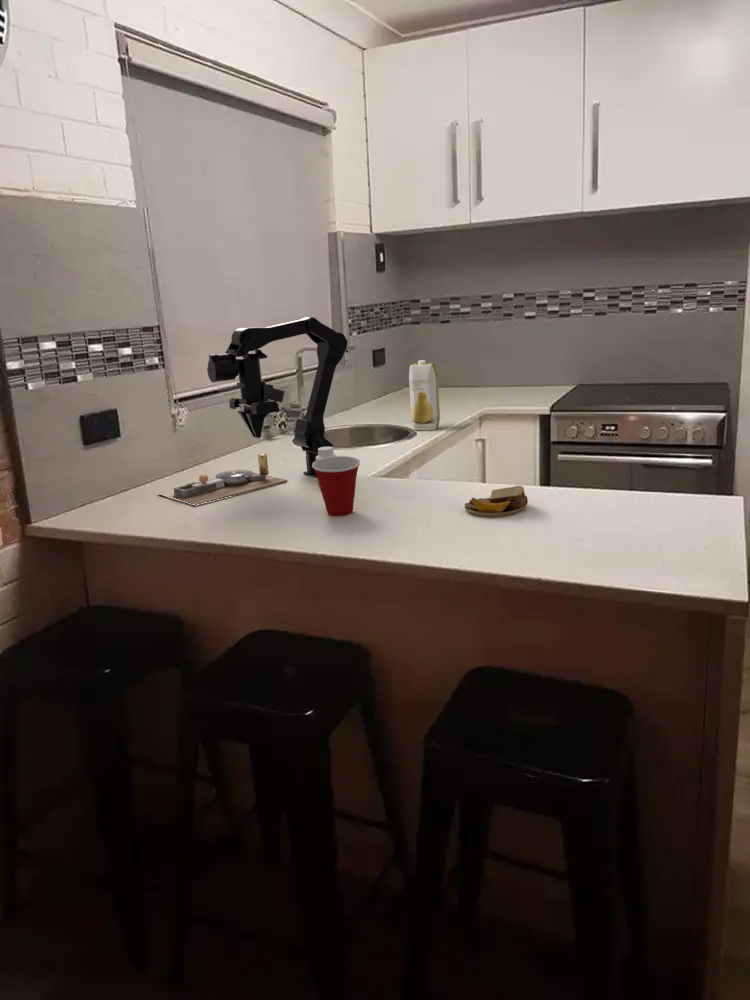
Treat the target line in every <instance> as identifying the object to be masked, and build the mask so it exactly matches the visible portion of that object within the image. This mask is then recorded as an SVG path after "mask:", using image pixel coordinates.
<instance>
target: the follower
mask: <svg viewBox="0 0 750 1000" xmlns="http://www.w3.org/2000/svg"><path fill="white" fill-rule="evenodd" d="M213 479H214V480H211V479H209V476H208V475H207V474H200V475H199V476H198V482H201V483H197V482H196V483H197V484H193V485H191V487H192V488H195V486H198V485H207V484H211V483H216V489H217V488H221V487H225V486H224V480H222V479H215V478H213ZM208 480H209V481H208Z"/></svg>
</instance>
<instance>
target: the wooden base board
mask: <svg viewBox="0 0 750 1000" xmlns="http://www.w3.org/2000/svg"><path fill="white" fill-rule="evenodd" d="M259 474H260V473H259V472H258V473H257V472H253V475H259ZM265 476H266V479H264V480H255V481H250V482H248V483H246V484H242V485H237V486H225V487H221V488H217V489H216V483H211V484H207V485H198V486H195V488H192V487H191V485H193V484H197V483H201V482H200V481H198V482H194V481H193V482H188V483H185V485H182V486H177V487H173V489H174V494H173V496H172V497H173V498H176V499H179V500H182V501H185V502H188V503H191V504H195V505H197V504H201V503H204V502H209V501H213V500H217V499H221V498H225V497H229V496H233V497H235V496H234V495H237V496H239V495H238V494H241V495H243V494H242V493H245V494H248V493H252V492H255V491H259V490H262V489H268V488H271V487H274V486H278V485H281V484H286V483H288V479H285V478H280V477H277V476H271V475H265ZM214 479H216V477H215V478H211V479H208V481H209V480H214ZM251 491H252V492H251ZM247 492H248V493H247ZM170 497H171V496H170Z"/></svg>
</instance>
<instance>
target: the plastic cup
mask: <svg viewBox="0 0 750 1000" xmlns="http://www.w3.org/2000/svg"><path fill="white" fill-rule="evenodd" d="M360 465H361V460H360V459H359V458H357V457H353V456H346V455H345V456H343V455H338V456H335V457H327V458H322V459H319V460H316V461H315V462H313V463H312V467H313V468H314V470H315V472H316V474H317V477H316V478H318V479H317V482H318V481H319V484H320V487H319V488H320V491H321V496H322V498H323V502H324V505H325V509H326V513H327V515H328V516H332V517H343V516H348V515H351V514H352V513H353V512H354V511H353V510H354V501H355V495H356V494H355V493H356V485H357V475H358V471H359V470H358V469H359V466H360Z"/></svg>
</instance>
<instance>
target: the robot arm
mask: <svg viewBox="0 0 750 1000" xmlns="http://www.w3.org/2000/svg"><path fill="white" fill-rule="evenodd" d="M301 335H307V336H308V338H309V339H310V340H311V341H312V342H314V343H315V344H316V345H317V346H316V356H317V360H318V364H317V369H316V372H315V376H314V380H313V385H312V388H311V391H310V393H311V394H310V397H309V401H308V405H307V409H306V412H305V415H304V416H303V417H302V418H299V417H298V418H297V417H296V418H297V419H296V423H295V428H294V430H293V432H292V433H294V440H295V442H296V444H298V445H299V446H300V447H301V450H302V451H303V452H305V461H306V470H307V471H303V473H302V474H303V475H307V476H311V477H315V478H317V474H316V472H315V470H314V468H313V467H312V463H313V462H315V461H316V456H318V448H321V447H333V448H334V445H333V443H332V442H330V441H329V440H328V439H327V438H326V437H325V435H326V434H325V433H326V432H325V431H326V427H325V426H326V425H325V422H324V415H325V411H326V407H327V403H328V400H329V396H330V391H331V388H332V383H333V379H334V376H335V371H336V367H337V366H338V365H339V363H340V362H341V361H342V359H343V358H344V357H345V353H346V350H347V348H348V339H347V338H346V336H345V335H344V334H343V333H341V332H339V331H338V332H337V331H335V330H334V329H332V328H331V327H329V326H327V325H325V324H324V323H322V322H321V321H319V320H318V319H317V318H316V317H311V316H310V317H309V316H307V317H303V318H301V319H297V320H293V321H288V322H283V323H279V324H275V325H270V326H266V327H239V328H236V329H235V330H233V333H232V334H231V341H230V344H229V345H228V346H227V349H226V351H225V353H223V354H208V358H209V359H208V363H207V368H206V371H207V375H208V378H209V381H210V382H211V383H219V382H227V381H228V382H229V381H234V380H236V378H237V377H238V381H239V382H236V387H238V388H239V390H240V391H239V392H240V396H237V397H236V396H234V397H231V399H229V404H228V405H229V409H230V410H237V408H239V410H238V411H237V414H239V416H240V417H241V419H242V420H243V422H244V424H245V425H246V427H247V429H248V430H249V432H250V434H251V435H252V437H253V438H256V439H260V438H262V431H263V428H264V427H263V426H264V422H265V419H266V417H267V416H268V415H269V414H272V413H279V412H280V404H279V403H282V404H283V401H284V395H285V393H286V391H285V390H282V389H279V388H278V389H277V388H274V385H273V384H269V383H267V382H266V381H265V380H262V379H263V378H262V371H261V370H262V369H261V362H260V360H261V359H268V355H267V354H265V353H264V352H263V351H262V350H261V349H262V348H264V347H265V346H267V345H269V344H270V343H272V342H275V341H279V340H280V341H281V340H284V339H289V338H292V337H293V338H294V337H296V336H297V337H298V336H301Z"/></svg>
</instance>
